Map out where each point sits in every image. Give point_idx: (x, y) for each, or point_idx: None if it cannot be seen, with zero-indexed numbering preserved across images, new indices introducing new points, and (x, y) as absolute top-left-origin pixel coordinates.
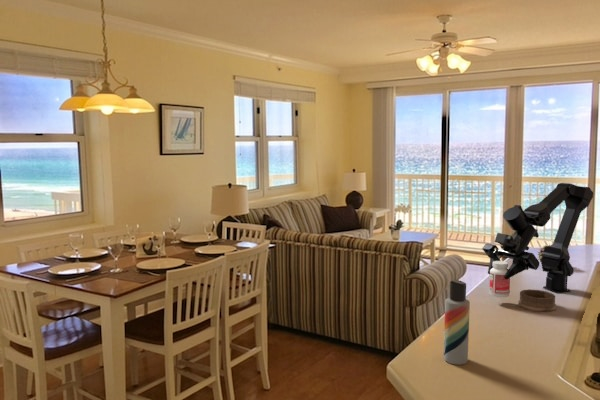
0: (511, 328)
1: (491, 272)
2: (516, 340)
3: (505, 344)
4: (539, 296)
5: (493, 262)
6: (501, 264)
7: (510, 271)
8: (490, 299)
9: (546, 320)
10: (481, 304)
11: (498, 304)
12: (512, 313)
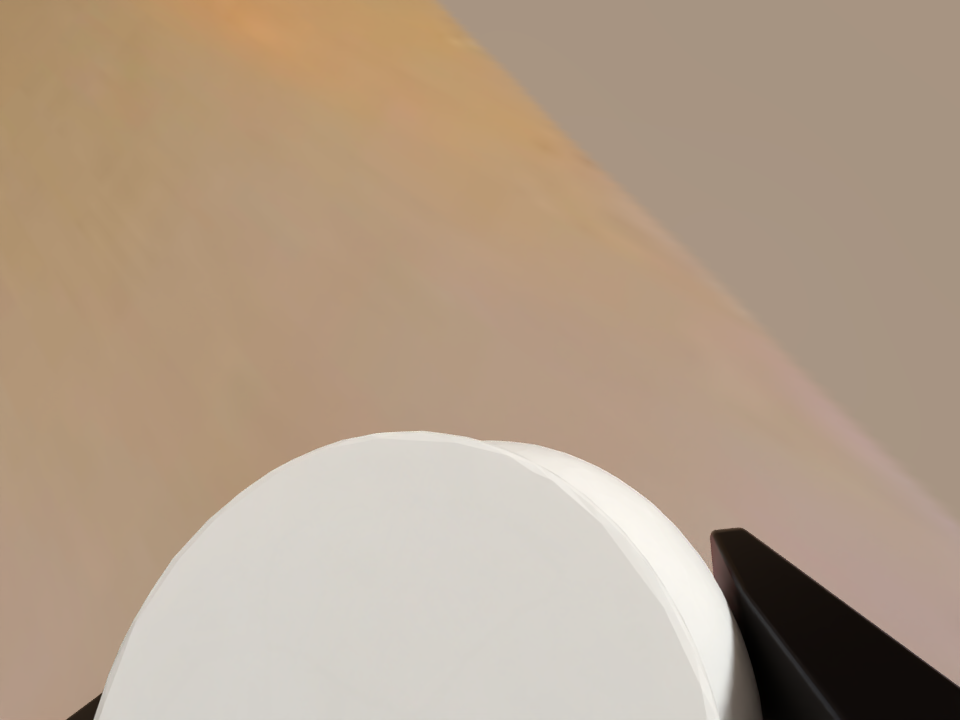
0: (125, 292)
1: (528, 444)
2: (30, 205)
3: (45, 132)
4: None
5: (509, 465)
6: (187, 552)
7: (91, 712)
8: None
9: (33, 675)
10: (613, 444)
11: None
12: None
